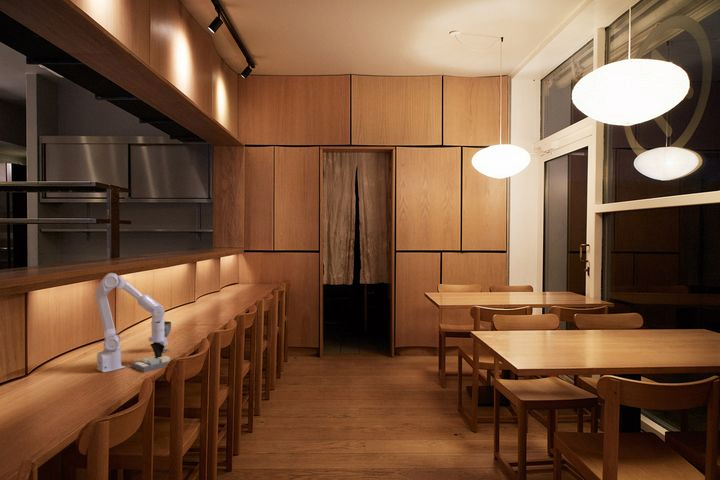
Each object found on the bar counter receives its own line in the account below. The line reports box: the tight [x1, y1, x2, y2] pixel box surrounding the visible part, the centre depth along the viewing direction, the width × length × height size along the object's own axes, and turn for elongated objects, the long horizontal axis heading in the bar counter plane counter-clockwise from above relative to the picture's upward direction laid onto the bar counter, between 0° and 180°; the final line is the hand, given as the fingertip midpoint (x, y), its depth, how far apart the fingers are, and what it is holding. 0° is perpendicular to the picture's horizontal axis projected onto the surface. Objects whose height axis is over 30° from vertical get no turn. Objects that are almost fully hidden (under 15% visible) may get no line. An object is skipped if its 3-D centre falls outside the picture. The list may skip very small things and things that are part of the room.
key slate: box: [147, 357, 159, 365], centre depth 211 cm, size 4×4×2 cm
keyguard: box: [130, 355, 173, 373], centre depth 214 cm, size 15×12×2 cm
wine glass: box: [162, 320, 172, 354], centre depth 239 cm, size 8×8×15 cm
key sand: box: [158, 355, 171, 363], centre depth 215 cm, size 4×4×2 cm
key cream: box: [140, 355, 154, 363], centre depth 214 cm, size 4×4×2 cm
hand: (158, 357), depth 218 cm, fingers closed, pressing on key sage
